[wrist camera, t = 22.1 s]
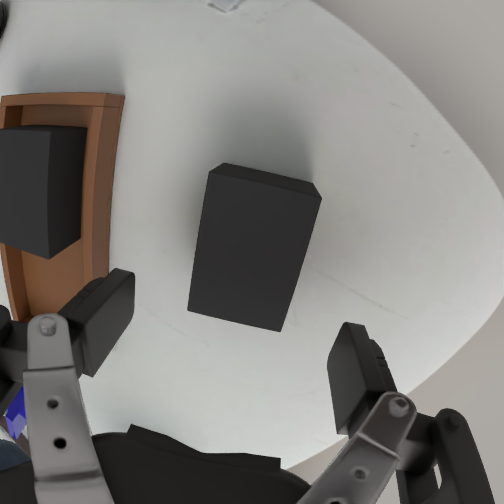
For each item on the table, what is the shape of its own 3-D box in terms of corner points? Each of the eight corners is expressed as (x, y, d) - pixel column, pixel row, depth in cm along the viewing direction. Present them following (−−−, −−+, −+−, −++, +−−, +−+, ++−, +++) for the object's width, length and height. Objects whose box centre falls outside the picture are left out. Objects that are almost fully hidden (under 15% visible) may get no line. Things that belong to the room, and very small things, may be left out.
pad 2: (223, 162, 18) (208, 171, 14) (313, 183, 18) (322, 197, 14) (202, 279, 21) (186, 311, 17) (280, 297, 21) (280, 332, 18)
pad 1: (33, 124, 17) (-4, 129, 13) (88, 127, 17) (50, 131, 13) (30, 224, 20) (-2, 242, 17) (81, 238, 20) (49, 260, 17)
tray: (22, 95, 17) (1, 95, 14) (125, 95, 17) (105, 93, 14) (29, 315, 25) (15, 328, 22) (112, 349, 25) (100, 366, 22)
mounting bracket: (62, 412, 31) (42, 444, 25) (59, 431, 34) (43, 459, 28) (-31, 335, 29) (-54, 358, 23) (-26, 362, 31) (-46, 384, 26)
